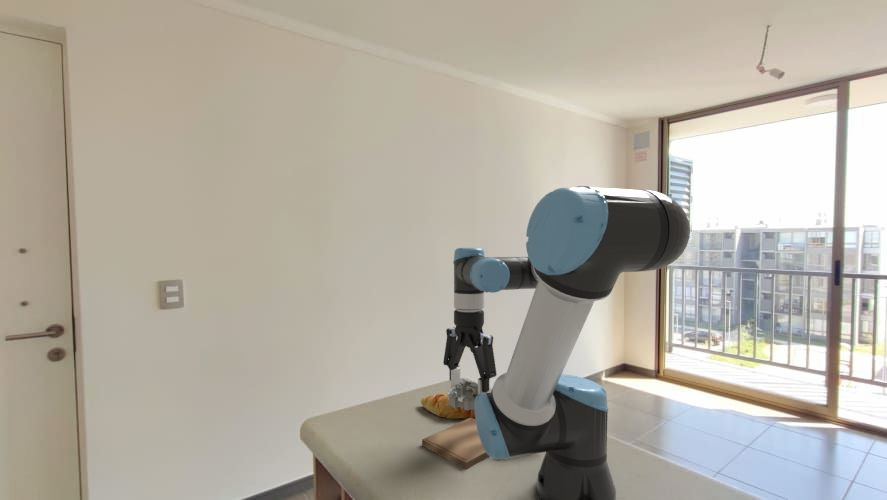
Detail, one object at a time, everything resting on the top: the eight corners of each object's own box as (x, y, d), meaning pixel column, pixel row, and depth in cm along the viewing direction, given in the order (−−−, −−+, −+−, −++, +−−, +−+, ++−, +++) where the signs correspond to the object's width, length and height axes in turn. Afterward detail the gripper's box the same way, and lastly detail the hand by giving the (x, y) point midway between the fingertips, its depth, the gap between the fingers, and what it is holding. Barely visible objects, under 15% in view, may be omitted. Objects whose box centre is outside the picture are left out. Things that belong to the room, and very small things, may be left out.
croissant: (416, 421, 125) (409, 402, 121) (430, 395, 133) (424, 377, 129) (482, 434, 116) (477, 414, 112) (492, 406, 124) (488, 386, 120)
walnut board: (514, 441, 105) (514, 435, 105) (466, 469, 92) (466, 461, 92) (470, 423, 116) (470, 417, 116) (422, 445, 103) (422, 438, 103)
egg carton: (472, 412, 97) (472, 395, 97) (443, 406, 100) (443, 389, 100) (489, 396, 106) (489, 381, 106) (462, 391, 110) (462, 376, 110)
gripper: (512, 312, 98) (512, 407, 99) (449, 302, 113) (449, 384, 114) (492, 317, 93) (492, 416, 94) (429, 306, 108) (429, 391, 109)
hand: (468, 399), depth 104 cm, fingers closed on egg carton, 8 cm apart
